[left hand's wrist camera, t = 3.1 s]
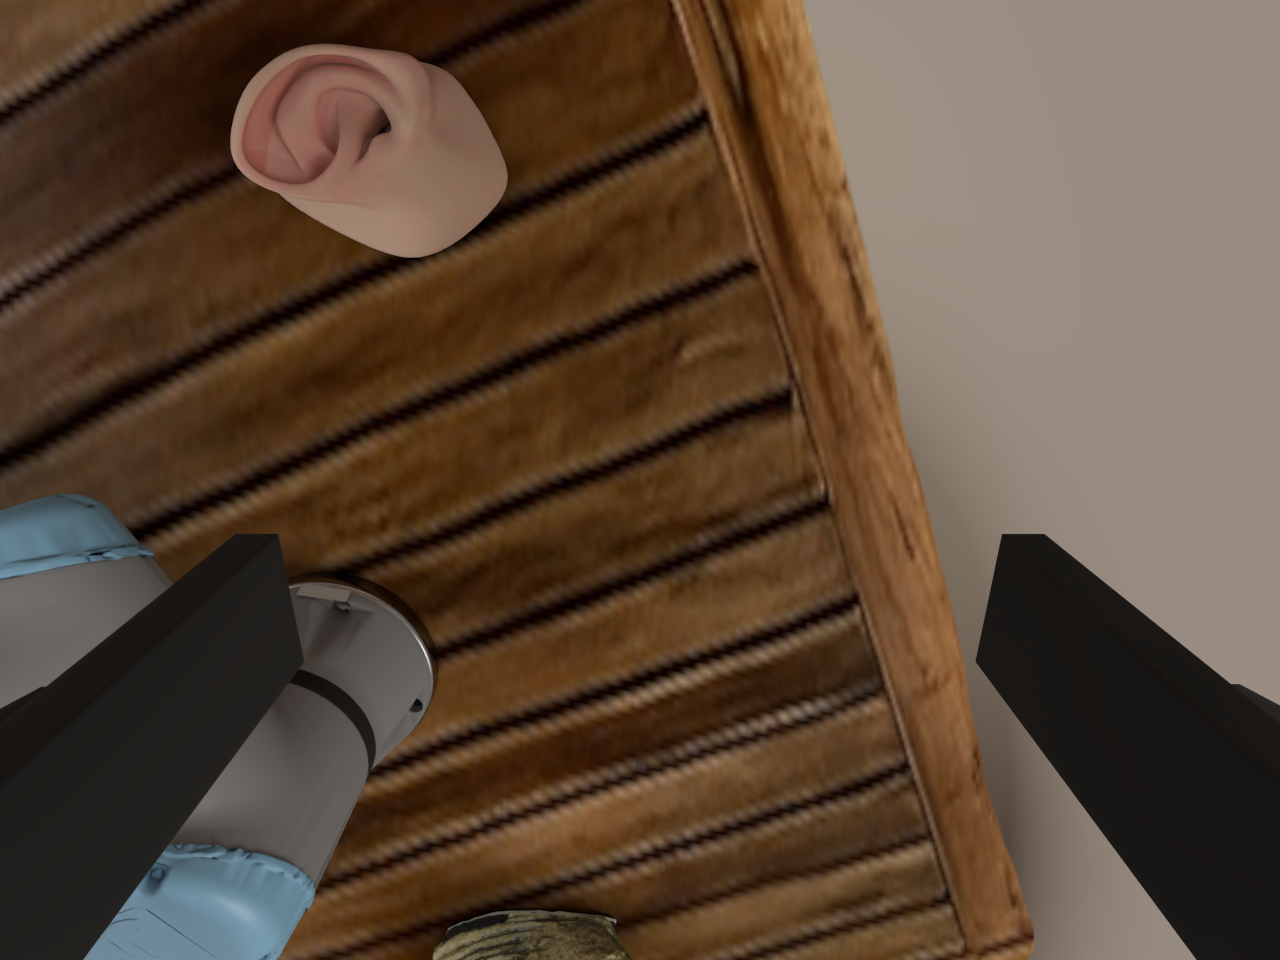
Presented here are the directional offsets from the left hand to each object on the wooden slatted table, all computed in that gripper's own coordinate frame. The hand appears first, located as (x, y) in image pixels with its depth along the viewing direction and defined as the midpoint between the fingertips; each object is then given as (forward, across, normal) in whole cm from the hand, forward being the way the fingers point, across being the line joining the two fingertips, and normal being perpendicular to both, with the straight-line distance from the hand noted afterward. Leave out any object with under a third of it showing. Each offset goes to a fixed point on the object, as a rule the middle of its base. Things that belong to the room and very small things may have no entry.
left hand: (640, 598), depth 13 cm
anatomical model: (+34, +15, -10) cm, 38 cm away
